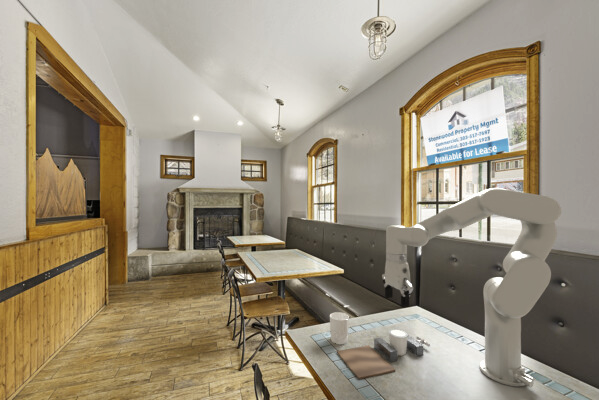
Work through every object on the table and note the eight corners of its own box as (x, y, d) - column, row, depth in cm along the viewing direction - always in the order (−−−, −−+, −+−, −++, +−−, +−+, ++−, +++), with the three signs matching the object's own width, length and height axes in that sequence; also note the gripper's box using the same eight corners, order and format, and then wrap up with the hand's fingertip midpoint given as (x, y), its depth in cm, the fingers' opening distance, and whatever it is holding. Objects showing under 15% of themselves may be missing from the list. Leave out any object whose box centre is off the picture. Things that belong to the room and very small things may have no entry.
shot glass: (404, 346, 105) (404, 329, 105) (410, 356, 98) (410, 337, 98) (386, 345, 105) (386, 328, 105) (391, 355, 99) (391, 336, 99)
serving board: (395, 371, 89) (395, 369, 89) (358, 379, 85) (358, 377, 85) (369, 346, 105) (369, 345, 105) (336, 352, 100) (336, 351, 100)
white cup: (334, 346, 105) (334, 321, 105) (326, 336, 112) (326, 313, 112) (352, 343, 107) (352, 318, 107) (343, 334, 114) (344, 311, 114)
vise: (434, 352, 101) (434, 343, 101) (390, 361, 95) (390, 352, 95) (415, 339, 110) (415, 331, 110) (374, 347, 104) (374, 338, 104)
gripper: (420, 261, 95) (420, 309, 95) (390, 253, 112) (390, 293, 112) (403, 262, 93) (403, 311, 93) (375, 253, 110) (375, 295, 110)
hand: (396, 301), depth 102 cm, fingers open, 9 cm apart
